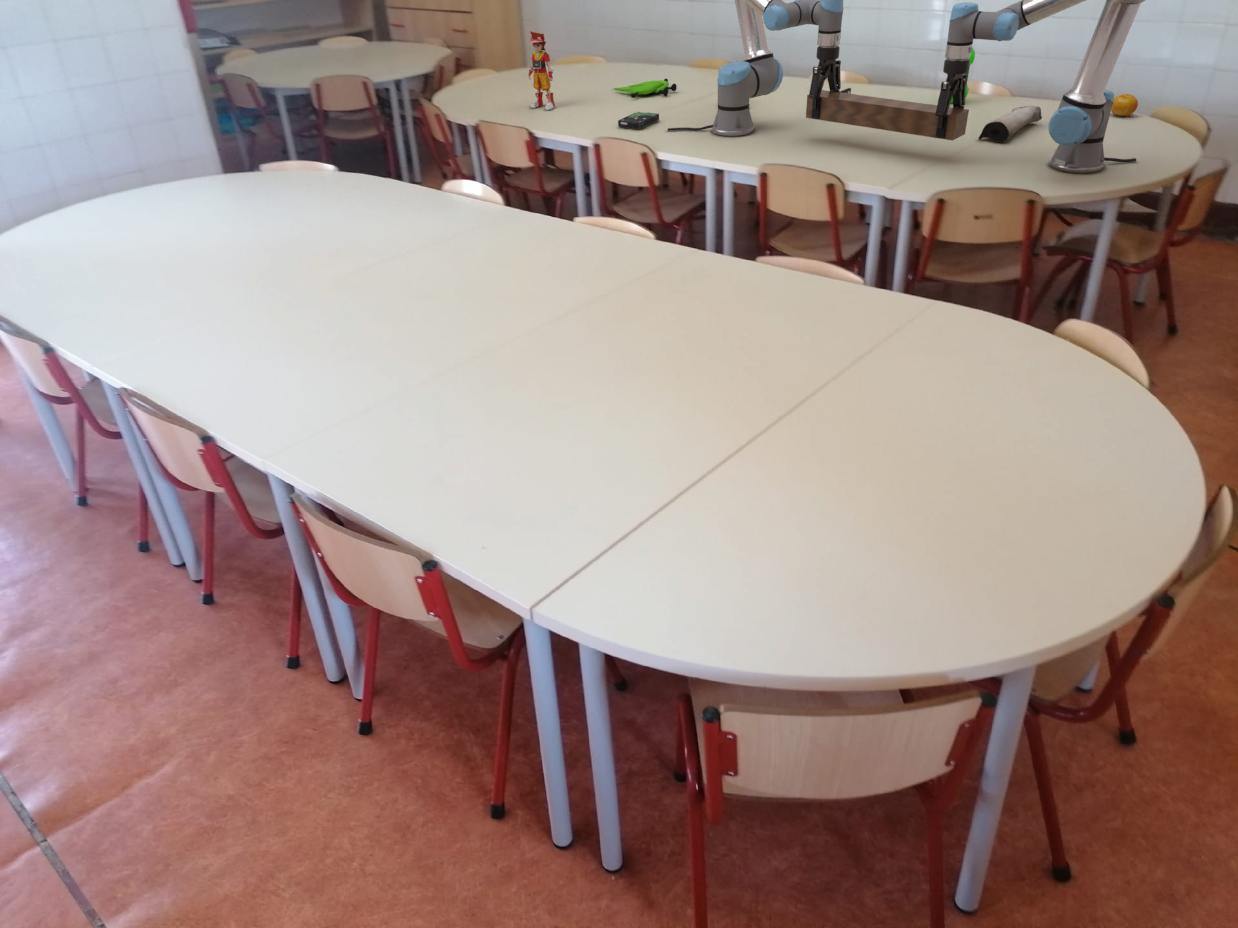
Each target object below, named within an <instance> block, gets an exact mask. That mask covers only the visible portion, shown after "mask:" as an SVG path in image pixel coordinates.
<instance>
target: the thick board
mask: <svg viewBox="0 0 1238 928" xmlns="http://www.w3.org/2000/svg"><path fill="white" fill-rule="evenodd" d="M819 99H821V103H820V116H819V119H816V118H812V102H813V99H812V98H809V94H807V95H806V108H805V118H806V119H811V120H818V121H824V122H831V123H837V124H843V125H849V126H857V127H863V128H868V129H869V128H870V129H876V130H882V131H888V132H895V133H900V134H901V133H902V134H908V135H912V136H913V135H915V136H920V137H927V138H933V139H941V140H947V141H954V140H957V139H959V138H960V137H963V136H964V135H966V130H967V125H968V119H969V111H970V109H967V108H964V109H961V108H953V106H949V109H948V112H947V115H946V116H947V124H946V131H945V138H938V137H936V130H937V123H938V116H935V113H936V109H937V104H930V103H922V102H915V101H908V100H907V101H906V100H899V99H892V98H885V97H876V96H870V95H864V94H863V95H862V94H854V93H851V94H848V93H841V92H840V91H839V92H833V91H830V90H826V89H822V91H821V94H820V97H819Z"/></svg>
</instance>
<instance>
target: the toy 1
mask: <svg viewBox="0 0 1238 928" xmlns="http://www.w3.org/2000/svg"><path fill="white" fill-rule="evenodd" d="M529 33H530V35H531V36H528V37H527V38H528V39H529V40H528V41H527V43H529V44H530V43H531V44H532V48H533V50H534V51H533V52H532V55H531V58H530V59H531V63H530V66H528V74H527V75H528V76H527V77H528V79H529V80H531V75H532V74H533V84H532V85H533V86H532V87H533V88H534V89H535V90H536V92H534V95H535V97H536V100H535V101H533V102H531V105H530V108H531V109H535V108H538V107H542V106H544V101H543V100H544V99H543V95H544V92H546V94H545V97H546V99H547V103H546V104H545V106H544V110H546V111H549V110H553V109H554V107H555V106H556V105H555V99H554V92H551V91H550V90H551V86H552V84H551V82H552V81H553V80H554V77H553V73H554V71H555V70H554V69H552V68H551V63H550V61H551V59H550V58H551V57H550V54H549V53H548V52H547V50H546V48H545V46H546V44H547V41H545V35H544V33H543V32H542V33H539V32H535V31H529Z"/></svg>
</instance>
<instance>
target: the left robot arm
mask: <svg viewBox="0 0 1238 928" xmlns="http://www.w3.org/2000/svg"><path fill="white" fill-rule="evenodd" d="M734 4H735V9H736V15H737V20H738V25H739V31H740V36H741V41H742V47H743V51H744V57H743V58H742V60H740V61H739V60H738V61H732V62H728V63H726V64H723V65H722V66H720V68H718V73H717V74H718V75H717V111H716V114H715V118H714V120H713V124H710V125H706V126H702V127H687V126H686V127H668V128H667V131H668V132H671V131H672V132H673V131H695V132H696V131H704V130H707V129H711V128H712V133H713V134H715V135H717V136H721V137H741V136H746V135H750V134H752V133H754V127H755V126H754V122H753V118H752V115H751V111H750V106H749V104H750V99H753V98H757V97H762V96H768V95H770V94H773V93H775V92H776V91H777V90H779V88H780V86H781V84H782V82H783V78H784V69H783V66H782V64H781V62H780V61H779V60H778V59H776V58H775V57H774V53H773V51H771V50H770V49H769V48H768V41H767V36H766V29H767V30H769V31H771V32H773V31H782V30H786V29H790V28H795V27H800V26H804V25H813V26H818V30H817V43H816V45H817V48H816V59H817V60H818V65H817V66H813V67H812V76H811V81H810V87H809V93H808V95H809V98H812V99H813V102H812V118H816V119H815V120H817V119H819V116H820V103H821V99H819V97H820V94H821V91H822V90H823V88H824V85H825V82H826V80H827V84H828V89H829V91H833V92H840V91H841V88H842V86H841V64H842V61H841V60H838V59H839V57H840V49H841V48H840V45H841V38H842V37H841V36H842V35H841V34H842V23H843V15H844V0H794V1H792V2H785V1H783V0H734ZM765 28H766V29H765Z"/></svg>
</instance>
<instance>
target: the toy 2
mask: <svg viewBox="0 0 1238 928" xmlns="http://www.w3.org/2000/svg"><path fill="white" fill-rule="evenodd" d="M669 85H670V83H669V79H668V78H664V79H663V80H649V81H644V82H640V83H634V84H629V85H627V86H621V87H613V88H612V89H613V90H616V91H619V92H623V93H627V94H628V93H629V94H631V95H630V96H631V98H632V99H634V98H636V96H637V95H650V94H652V93H654V94H658V93H662V95H663V96H665V97H667V96H668V95H669V90H671V91H672V92H676V91H677V84H676V83H672V84H671V86H669Z"/></svg>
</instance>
